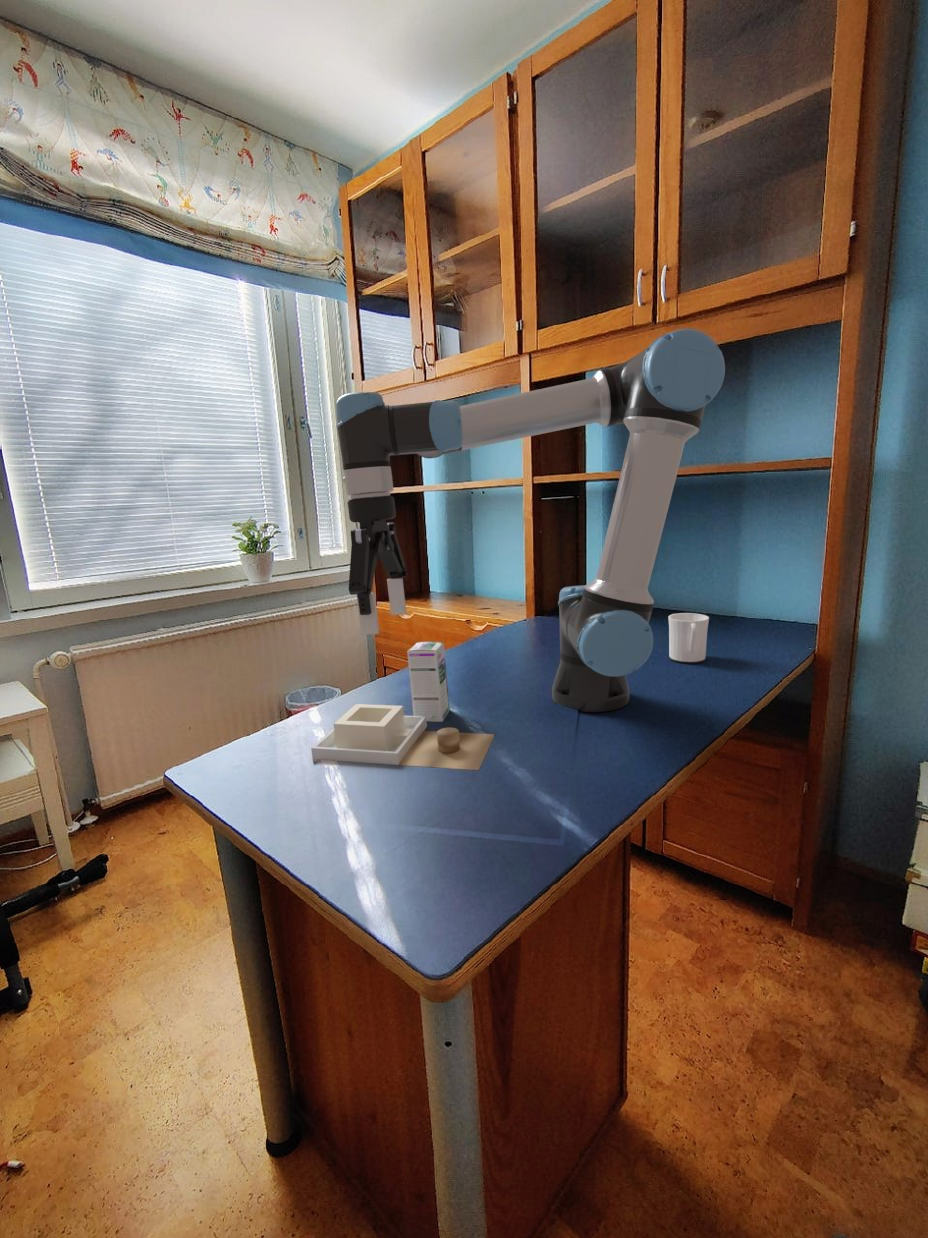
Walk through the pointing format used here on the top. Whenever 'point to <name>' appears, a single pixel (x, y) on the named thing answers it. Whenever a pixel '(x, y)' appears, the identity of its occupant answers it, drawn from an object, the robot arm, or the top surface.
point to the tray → (329, 751)
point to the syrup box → (428, 680)
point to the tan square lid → (448, 750)
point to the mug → (687, 637)
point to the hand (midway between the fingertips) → (385, 623)
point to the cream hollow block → (371, 727)
